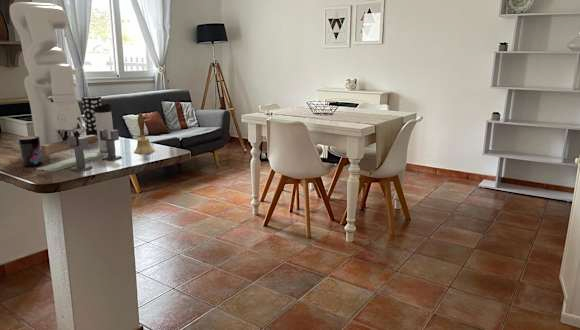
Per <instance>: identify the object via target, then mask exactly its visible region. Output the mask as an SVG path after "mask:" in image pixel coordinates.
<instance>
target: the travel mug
mask: <svg viewBox="0 0 580 330" xmlns="http://www.w3.org/2000/svg"><path fill="white" fill-rule="evenodd" d="M94 109H95V119H96V127H97V135H98V143H97V144H98V151H99V153H101V154H107V145H106V141H104V140H101V139H100V130H104V129H107V133H108V137H111V132H110V131H113V130H114V124H113V117H112V115H113V114H112V110H111V109H112V107H111V103H106V104H102V105H99V106H94ZM115 142H116V141H114V146H115V147H116V143H115Z"/></svg>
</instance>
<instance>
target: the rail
mask: <svg viewBox="0 0 580 330" xmlns="http://www.w3.org/2000/svg"><path fill="white" fill-rule="evenodd" d="M85 137H87V138H88V146H89V145H93V144H96V143H97V144H98V141H97V135H88V136H86V135H85V136H80V137H79V138H78V140H79V139H81V138H85ZM70 150H71V149H68V141H67V140H65V141H63V140H61V142H56V143H52V144H47V145H43V146H41V152H42V155H46V156H47V155H54V154H57V153H61V152H65V151H70Z"/></svg>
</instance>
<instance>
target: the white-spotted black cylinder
mask: <svg viewBox="0 0 580 330" xmlns="http://www.w3.org/2000/svg"><path fill="white" fill-rule="evenodd" d="M81 102H82V111H83V112H82V113H83V118H84V129H85V134H86V135H85V136H88V135H97V127H96V119H95V109H94V106H99V105H103V103H102V96H84V97H81ZM97 141H98V135H97Z"/></svg>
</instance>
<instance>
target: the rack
mask: <svg viewBox="0 0 580 330" xmlns="http://www.w3.org/2000/svg"><path fill="white" fill-rule="evenodd" d="M110 132H111V137H108V133H107V129H104V130H100V139H101V140H104V141H106V145H107V153H106V156H103V157H101V160H102V161H106V162H107V161H109V162H115V161H118V160H120V159H122V158H123V157H122V155H116V145H115V146H114V141H115V142H116V141H119V140H120V138H119V129H113V131H110ZM69 137H70V138H67V141H68V149H70V150H74V151H73V152H74V157H75V158H76V165H75V166H73V167H71V168H70V167H69V171H70V172H79V173H80V172H81V173H83V172H85V171H88V170H91V169H93V166H92V165H86V162H85V158H84V154H85V152H84V150H87V149H90V146H89V145H88V138H87V137H85V138H81V139H79V145H77V141H76V137H71V136H69Z"/></svg>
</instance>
